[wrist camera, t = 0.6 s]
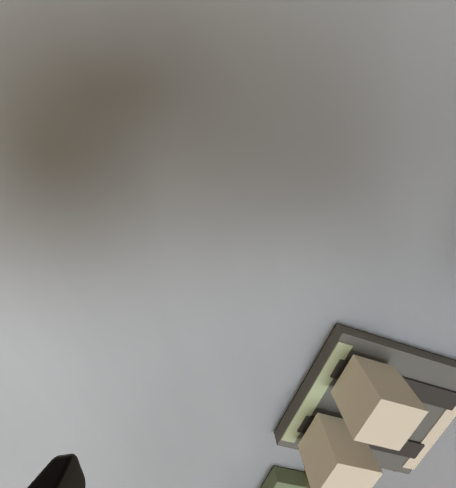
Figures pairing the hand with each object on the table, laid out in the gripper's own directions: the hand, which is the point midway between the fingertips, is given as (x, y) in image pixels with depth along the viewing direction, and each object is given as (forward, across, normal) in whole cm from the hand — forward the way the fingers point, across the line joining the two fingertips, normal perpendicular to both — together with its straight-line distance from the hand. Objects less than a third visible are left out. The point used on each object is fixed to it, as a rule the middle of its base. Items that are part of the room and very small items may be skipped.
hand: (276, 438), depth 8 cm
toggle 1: (+11, -7, +10) cm, 17 cm away
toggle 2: (+11, -5, +14) cm, 19 cm away
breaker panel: (+13, -8, +13) cm, 20 cm away
